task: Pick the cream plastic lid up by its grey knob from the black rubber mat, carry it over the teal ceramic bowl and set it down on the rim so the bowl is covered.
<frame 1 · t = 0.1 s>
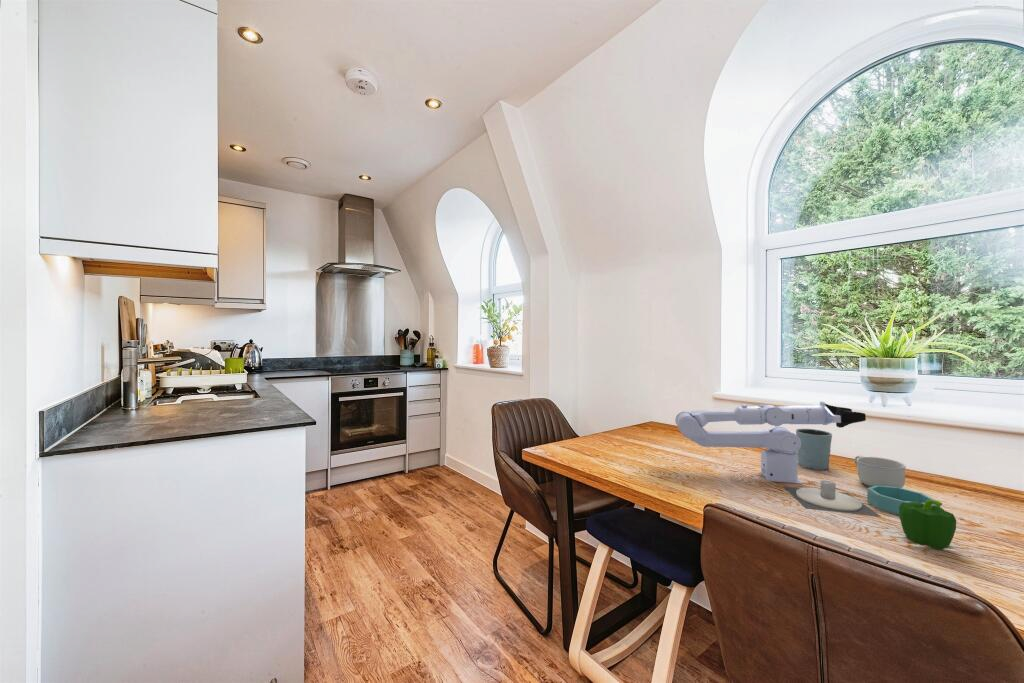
hand: (858, 414, 122), 22 cm above the table, tool horizontal, fingers open, 7 cm apart
lid: (827, 500, 110), resting on mat
bell pepper: (925, 544, 88), on the table
mat: (827, 502, 110), on the table
bowl: (900, 509, 105), on the table
teal cup: (813, 466, 141), on the table
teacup: (876, 486, 122), on the table
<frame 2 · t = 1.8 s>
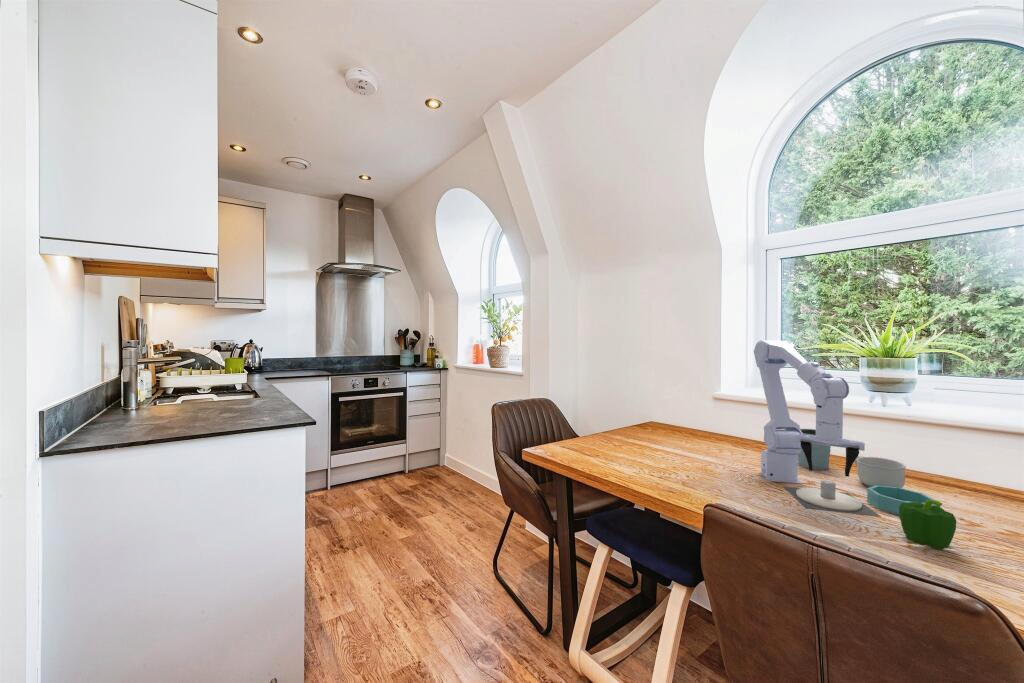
hand: (828, 472, 109), 8 cm above the table, tool pointing down, fingers open, 7 cm apart
nothing on the table moved.
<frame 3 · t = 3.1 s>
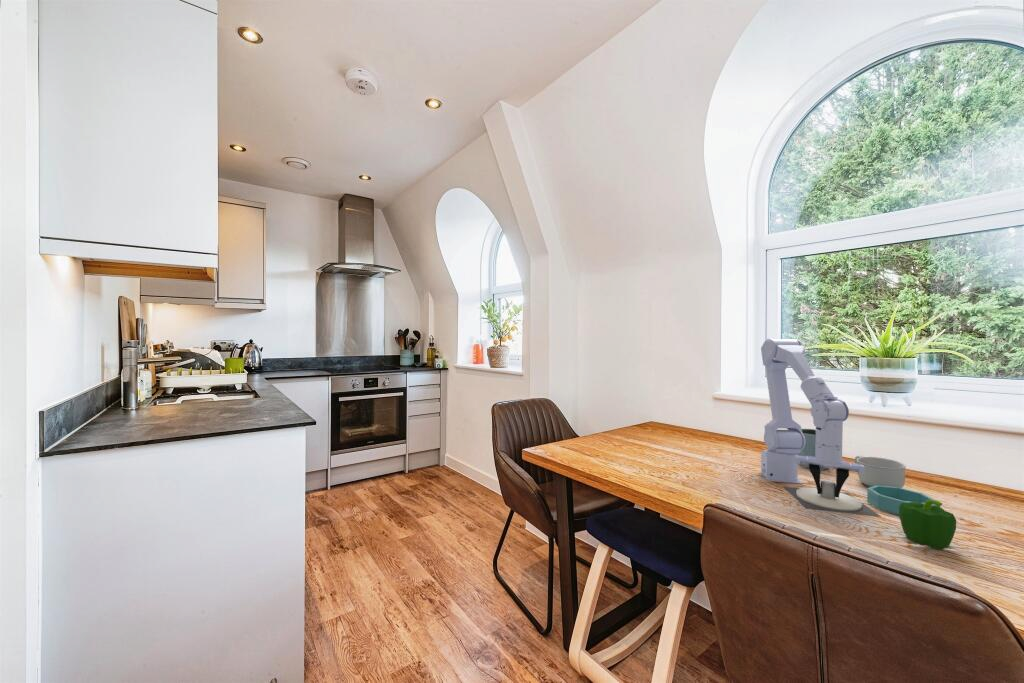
hand: (827, 494, 110), 2 cm above the table, tool pointing down, fingers closed on lid, 3 cm apart
lid: (827, 500, 110), resting on mat, touching gripper
everything else where it was.
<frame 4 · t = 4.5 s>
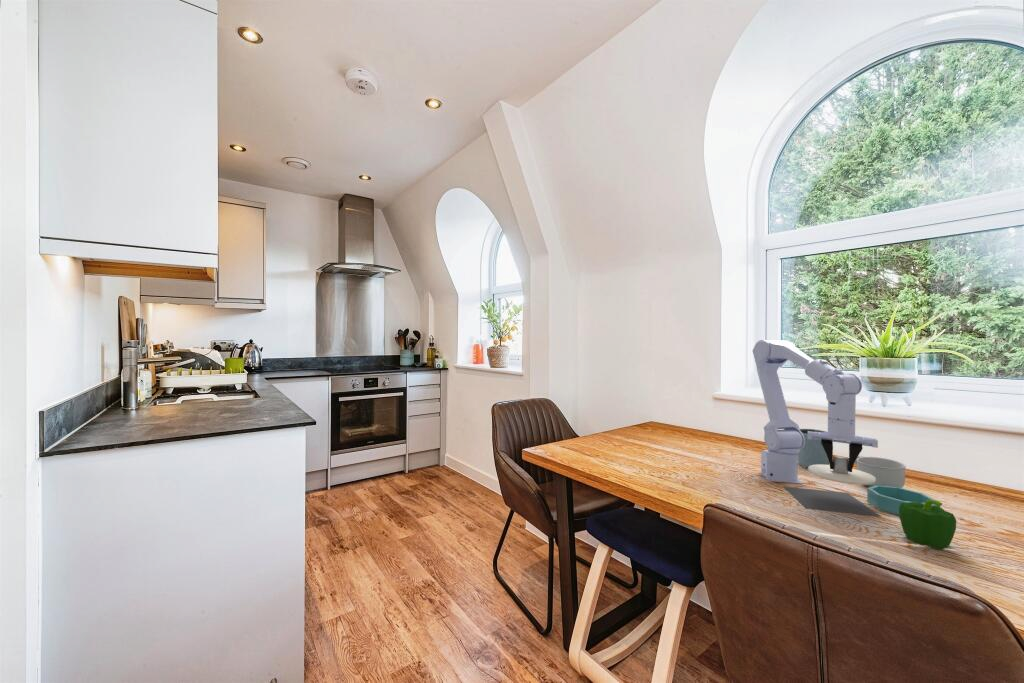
hand: (840, 469, 109), 9 cm above the table, tool pointing down, fingers closed on lid, 3 cm apart
lid: (840, 475, 109), point 8 cm above the table, touching gripper
everything else where it was.
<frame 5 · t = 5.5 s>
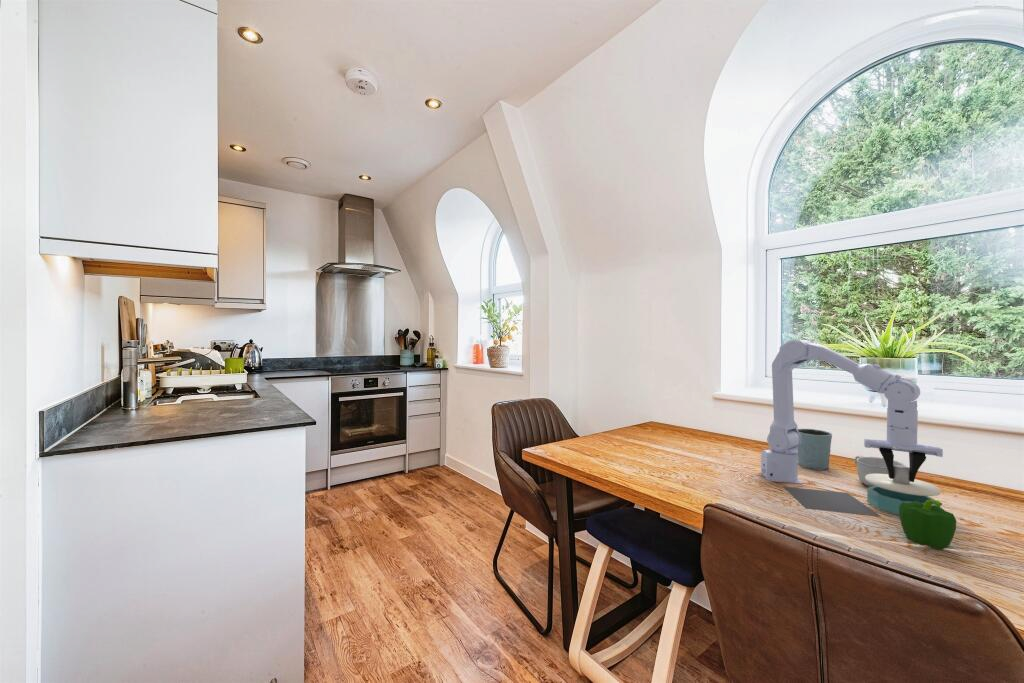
hand: (901, 479, 105), 8 cm above the table, tool pointing down, fingers closed on lid, 3 cm apart
lid: (901, 485, 105), point 6 cm above the table, touching gripper
everything else where it was.
when the fingers open (7 cm above the table, at t = 6.0 s): lid drops 1 cm, resting on bowl.
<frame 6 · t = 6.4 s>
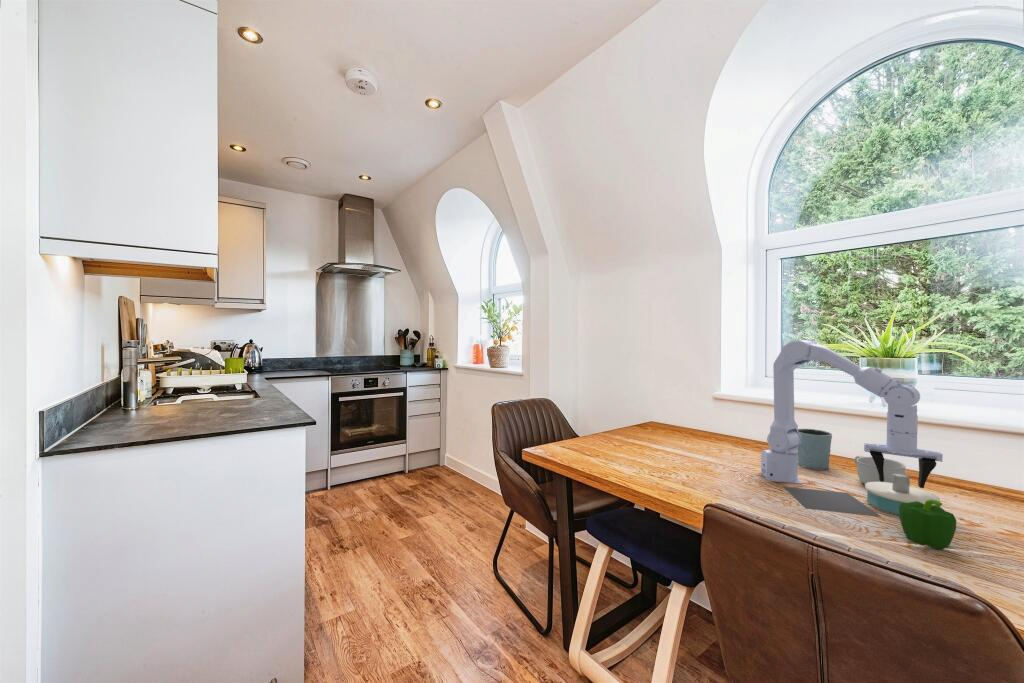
hand: (900, 483, 105), 7 cm above the table, tool pointing down, fingers open, 7 cm apart
lid: (900, 494, 105), point 4 cm above the table, touching bowl
everything else where it was.
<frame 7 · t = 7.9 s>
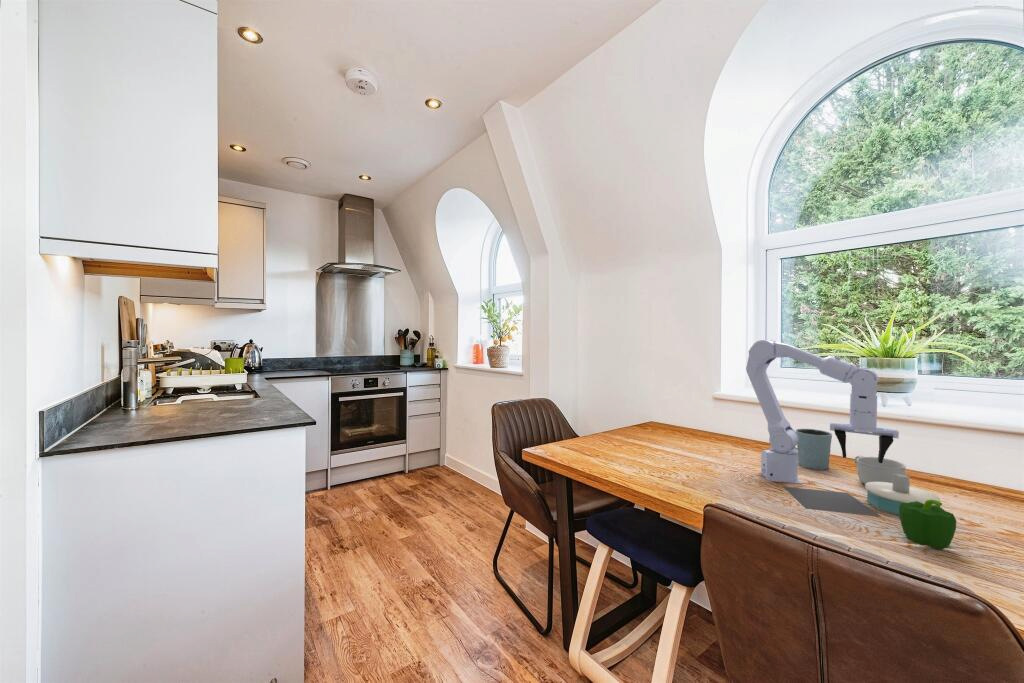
hand: (861, 459, 114), 10 cm above the table, tool pointing down, fingers open, 7 cm apart
nothing on the table moved.
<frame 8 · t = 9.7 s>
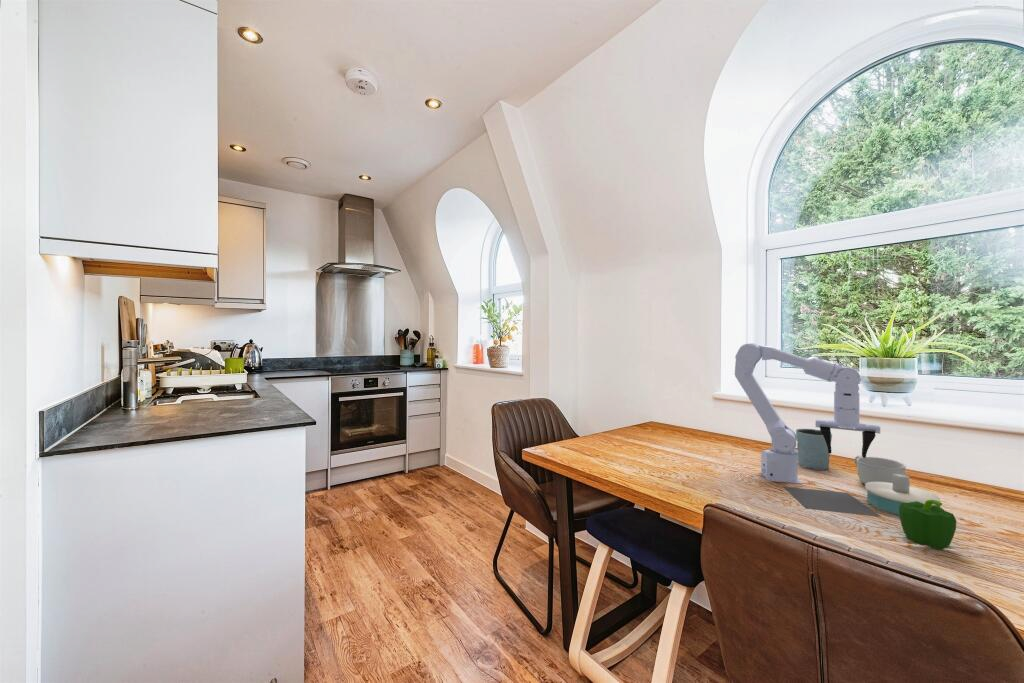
hand: (846, 454, 118), 10 cm above the table, tool pointing down, fingers open, 7 cm apart
nothing on the table moved.
at the end: lid 0.1 cm off-centre on the bowl, point 4.0 cm above the bowl's base; lid tilted 0°; the gripper is holding nothing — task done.
